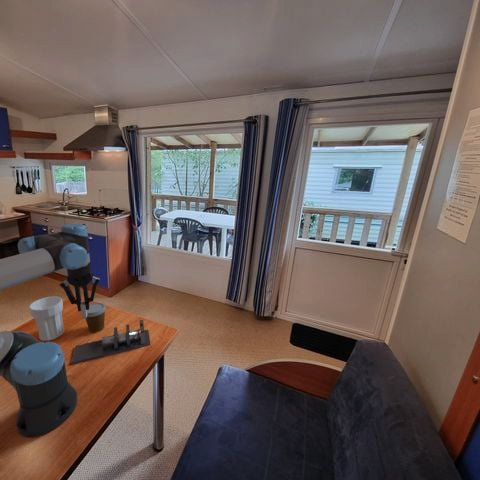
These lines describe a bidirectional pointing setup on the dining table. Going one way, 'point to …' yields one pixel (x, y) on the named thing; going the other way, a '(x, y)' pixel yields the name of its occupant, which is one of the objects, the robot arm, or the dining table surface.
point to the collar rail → (97, 351)
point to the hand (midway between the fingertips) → (84, 316)
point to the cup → (48, 317)
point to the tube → (121, 338)
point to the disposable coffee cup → (96, 317)
